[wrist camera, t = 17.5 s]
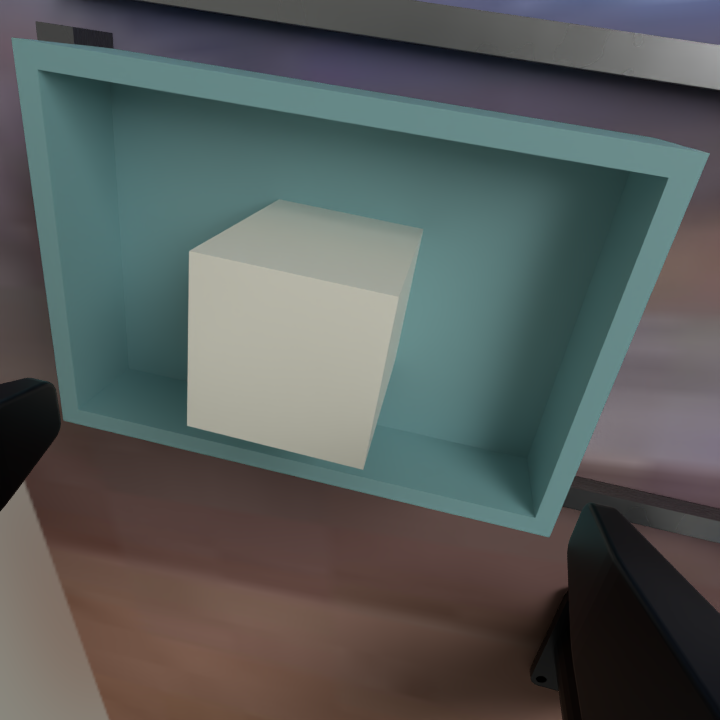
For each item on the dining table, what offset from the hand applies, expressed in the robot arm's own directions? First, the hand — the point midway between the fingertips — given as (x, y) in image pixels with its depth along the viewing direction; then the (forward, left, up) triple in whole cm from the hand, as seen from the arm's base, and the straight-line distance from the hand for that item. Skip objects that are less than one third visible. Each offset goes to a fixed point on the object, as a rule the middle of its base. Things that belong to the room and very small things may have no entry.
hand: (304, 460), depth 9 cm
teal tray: (0, +2, -12) cm, 12 cm away
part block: (0, +1, -9) cm, 10 cm away
